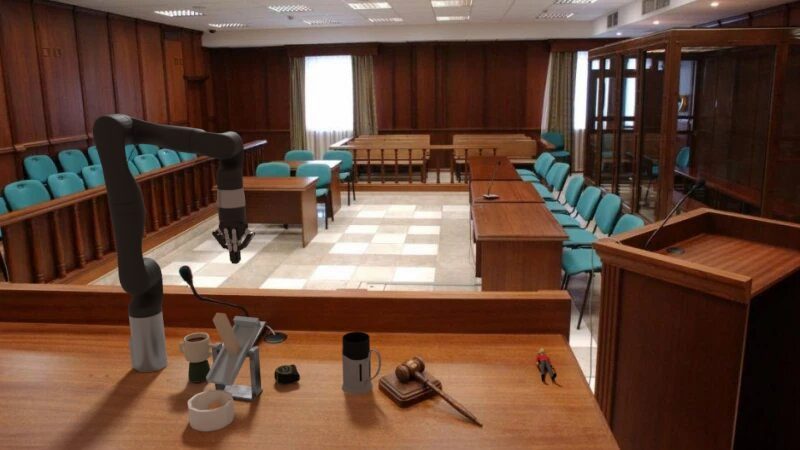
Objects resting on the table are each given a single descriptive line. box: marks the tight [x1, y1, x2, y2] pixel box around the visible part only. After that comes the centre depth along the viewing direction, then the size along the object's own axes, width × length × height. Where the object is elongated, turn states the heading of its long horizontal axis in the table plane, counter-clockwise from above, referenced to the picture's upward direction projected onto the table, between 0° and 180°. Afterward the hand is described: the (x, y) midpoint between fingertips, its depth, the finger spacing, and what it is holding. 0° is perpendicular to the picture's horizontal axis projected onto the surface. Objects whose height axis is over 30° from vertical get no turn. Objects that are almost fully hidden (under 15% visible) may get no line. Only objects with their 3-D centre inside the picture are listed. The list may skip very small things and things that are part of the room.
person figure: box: [535, 347, 558, 382], centre depth 189 cm, size 5×4×18 cm
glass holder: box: [341, 331, 382, 395], centre depth 175 cm, size 9×14×15 cm, turn 44°
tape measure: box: [273, 364, 301, 385], centre depth 182 cm, size 7×7×4 cm
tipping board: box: [206, 312, 262, 385], centre depth 168 cm, size 9×20×16 cm, turn 166°
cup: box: [187, 389, 235, 433], centre depth 161 cm, size 11×11×6 cm
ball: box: [209, 402, 221, 410], centre depth 163 cm, size 3×3×3 cm
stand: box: [211, 341, 264, 402], centre depth 173 cm, size 12×6×14 cm, turn 76°
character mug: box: [178, 332, 215, 383], centre depth 182 cm, size 11×7×13 cm, turn 82°
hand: (235, 263), depth 182 cm, fingers closed
